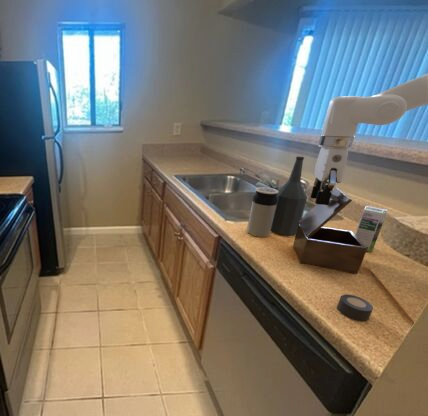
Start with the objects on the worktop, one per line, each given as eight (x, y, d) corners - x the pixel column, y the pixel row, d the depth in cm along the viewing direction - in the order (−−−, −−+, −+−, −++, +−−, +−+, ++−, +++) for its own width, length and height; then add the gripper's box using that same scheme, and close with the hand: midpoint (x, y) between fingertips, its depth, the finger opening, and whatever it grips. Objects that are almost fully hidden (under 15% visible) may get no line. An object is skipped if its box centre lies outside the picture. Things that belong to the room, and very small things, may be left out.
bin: (343, 254, 93) (351, 230, 90) (357, 274, 82) (367, 248, 79) (292, 246, 99) (298, 223, 96) (299, 263, 88) (306, 239, 85)
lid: (337, 188, 88) (323, 180, 88) (352, 200, 77) (336, 191, 78) (300, 223, 95) (287, 215, 96) (308, 238, 85) (294, 229, 85)
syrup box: (350, 246, 98) (363, 209, 92) (352, 241, 101) (365, 204, 96) (371, 252, 94) (387, 213, 88) (373, 247, 97) (388, 209, 92)
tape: (363, 307, 69) (367, 298, 68) (373, 324, 64) (378, 314, 63) (333, 301, 71) (337, 291, 70) (341, 316, 66) (345, 306, 65)
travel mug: (268, 239, 103) (279, 194, 97) (245, 234, 107) (254, 191, 101) (269, 231, 110) (279, 188, 103) (247, 227, 114) (255, 185, 107)
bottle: (282, 224, 116) (300, 153, 105) (303, 235, 107) (324, 158, 96) (261, 227, 114) (277, 155, 103) (280, 237, 105) (300, 159, 94)
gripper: (364, 146, 70) (343, 212, 77) (341, 139, 85) (325, 194, 91) (328, 145, 73) (310, 208, 80) (312, 138, 88) (299, 192, 94)
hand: (319, 200), depth 85 cm, fingers closed on lid, 5 cm apart
